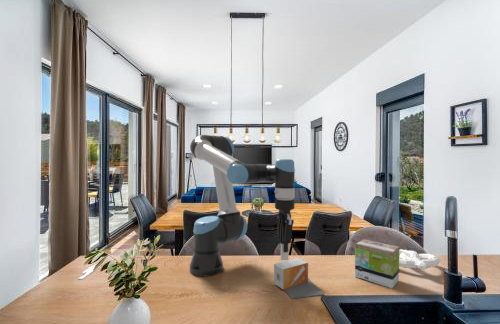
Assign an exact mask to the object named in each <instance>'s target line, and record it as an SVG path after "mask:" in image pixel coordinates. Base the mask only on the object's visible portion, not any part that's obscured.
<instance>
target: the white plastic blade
mask: <svg viewBox="0 0 500 324" xmlns="http://www.w3.org/2000/svg"><path fill="white" fill-rule="evenodd" d="M96 264H97V263H96ZM96 264H93V265H92V266H90V267H88V268H87V269H85V270H83V271H81V273H80V275H81V276H80V277H78V278H77V279H78V280H84V279H85V278H87V277H88V276H89V275H91V274H92V273H93V272H95V271H93V269H94V267H95V265H96ZM101 267H102V266H100V267H98V268H97V269H96V270H98V269H99V268H101Z"/></svg>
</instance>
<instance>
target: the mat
mask: <svg viewBox="0 0 500 324" xmlns="http://www.w3.org/2000/svg"><path fill="white" fill-rule="evenodd" d="M284 291H285V292H286V294H287V295H288V296H289V298H290V299H301V298H302V299H303V298H309V297H310V298H311V297H318V296H325V293H324V292H323V291H322V290H321V289H320V288H319V287H318V286H317V285H316V284H315V283H314V282H313V281H312V280H311V279H310V278H309V277H308V282H306V283H303V284H300V285H296V286H293V287H290V288H287V289H284Z"/></svg>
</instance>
